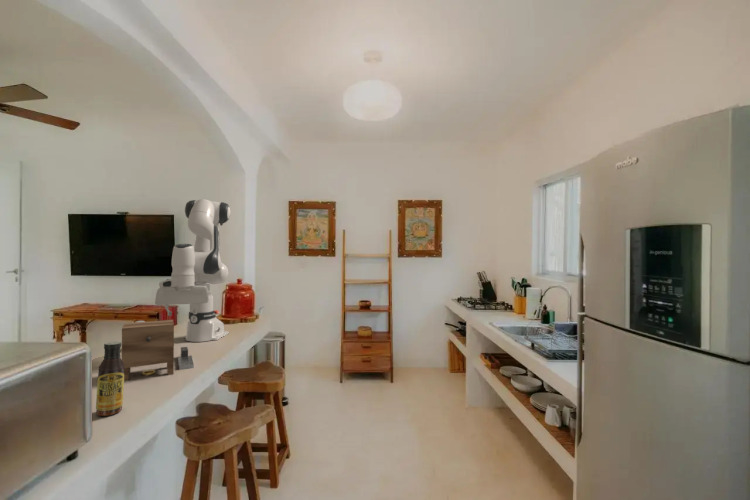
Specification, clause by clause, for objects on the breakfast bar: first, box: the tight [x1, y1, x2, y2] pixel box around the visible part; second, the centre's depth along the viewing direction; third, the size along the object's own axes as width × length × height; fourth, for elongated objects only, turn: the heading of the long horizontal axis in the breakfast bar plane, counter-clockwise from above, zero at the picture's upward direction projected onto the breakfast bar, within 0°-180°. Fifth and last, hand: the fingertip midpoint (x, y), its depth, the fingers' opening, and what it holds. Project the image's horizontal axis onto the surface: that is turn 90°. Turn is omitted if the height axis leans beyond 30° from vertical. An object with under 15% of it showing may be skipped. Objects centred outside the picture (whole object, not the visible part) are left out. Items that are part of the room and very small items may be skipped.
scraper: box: [177, 346, 195, 370], centre depth 152 cm, size 18×5×4 cm, turn 30°
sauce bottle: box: [95, 340, 125, 417], centre depth 106 cm, size 6×6×20 cm
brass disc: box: [142, 368, 156, 376], centre depth 139 cm, size 4×4×1 cm
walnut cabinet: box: [121, 319, 175, 382], centre depth 138 cm, size 11×16×18 cm
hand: (182, 314), depth 157 cm, fingers open, 8 cm apart
